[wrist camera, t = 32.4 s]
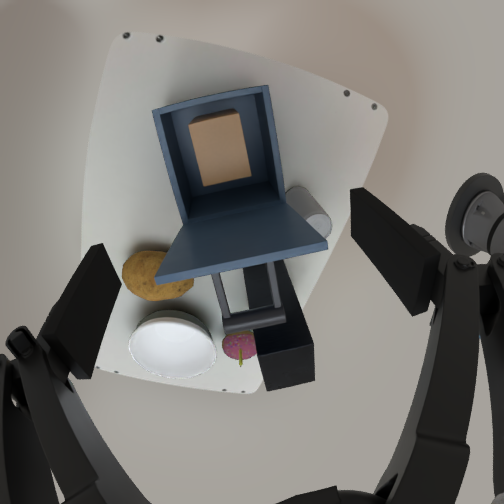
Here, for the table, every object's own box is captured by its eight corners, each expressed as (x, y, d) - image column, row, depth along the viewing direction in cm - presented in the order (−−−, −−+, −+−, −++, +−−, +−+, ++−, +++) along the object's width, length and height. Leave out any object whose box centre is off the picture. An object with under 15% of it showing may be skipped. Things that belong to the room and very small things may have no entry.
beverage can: (313, 190, 51) (338, 218, 41) (303, 214, 53) (324, 246, 43) (289, 181, 50) (309, 208, 39) (279, 206, 52) (295, 238, 42)
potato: (185, 321, 51) (195, 283, 46) (114, 303, 48) (115, 263, 43) (191, 286, 59) (201, 249, 54) (128, 270, 56) (132, 231, 51)
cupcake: (214, 325, 65) (216, 367, 54) (249, 312, 64) (256, 354, 54) (231, 347, 69) (235, 387, 59) (263, 335, 68) (271, 375, 58)
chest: (164, 106, 41) (151, 110, 32) (257, 86, 41) (268, 84, 32) (189, 201, 49) (183, 226, 41) (273, 183, 49) (286, 204, 41)
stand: (282, 259, 58) (313, 343, 39) (288, 297, 63) (314, 380, 44) (242, 267, 58) (257, 356, 39) (251, 305, 63) (267, 391, 44)
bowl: (218, 351, 69) (220, 378, 62) (145, 352, 68) (141, 378, 60) (212, 292, 60) (213, 320, 53) (125, 295, 58) (117, 322, 51)
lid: (153, 277, 24) (182, 353, 27) (327, 240, 24) (334, 322, 27) (182, 225, 40) (197, 278, 43) (287, 202, 41) (295, 257, 43)
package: (233, 108, 41) (239, 113, 31) (243, 155, 46) (251, 176, 35) (195, 116, 41) (187, 124, 31) (206, 163, 46) (203, 187, 35)
